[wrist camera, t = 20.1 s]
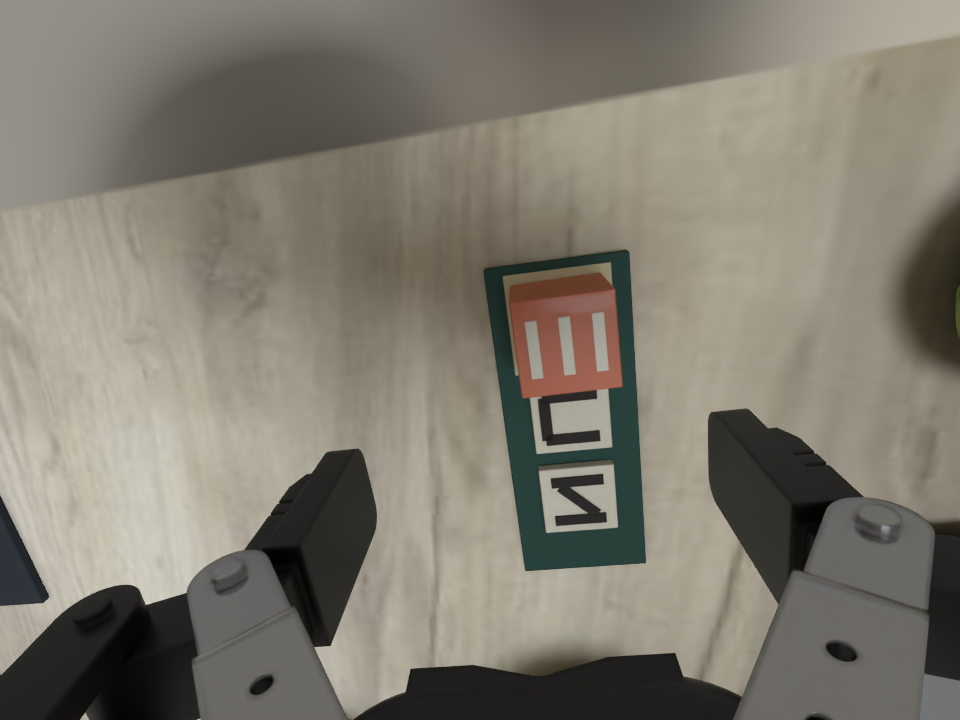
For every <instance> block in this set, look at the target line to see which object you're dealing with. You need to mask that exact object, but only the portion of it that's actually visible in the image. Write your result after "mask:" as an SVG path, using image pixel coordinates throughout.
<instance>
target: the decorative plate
mask: <svg viewBox="0 0 960 720" xmlns="http://www.w3.org/2000/svg"><path fill="white" fill-rule="evenodd" d="M920 720H960V681H958V680H953V679H948V678H943V677H938V676H933V675H927V674H924V681H923V691H922V702H921V713H920Z"/></svg>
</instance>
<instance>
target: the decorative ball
mask: <svg viewBox="0 0 960 720" xmlns="http://www.w3.org/2000/svg"><path fill="white" fill-rule="evenodd" d="M955 318H956V328H957V333H958V336H959V340H960V285H959V287H958V289H957V292H956V303H955Z"/></svg>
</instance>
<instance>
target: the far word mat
mask: <svg viewBox="0 0 960 720" xmlns="http://www.w3.org/2000/svg"><path fill="white" fill-rule="evenodd" d="M48 598H49V597H48V595H47V593H46V591H45V589H44V587H43V585H42V583H41V580H40V578H39V576H38V574H37V572H36V570H35V568H34V566H33V564H32V562H31V560H30V558H29V556H28V554H27V552H26V550H25V548H24V546H23V544H22V542H21V539H20V537H19V535H18V533H17V531H16V529H15V527H14V525H13V523H12V521H11V519H10V517H9V515H8V513H7V511H6V509H5V507H4V505H3V503H2V501H1V498H0V606H5V605H20V604H35V603H44V602H45V601H46V600H47V599H48Z"/></svg>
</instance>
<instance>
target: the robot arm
mask: <svg viewBox="0 0 960 720" xmlns="http://www.w3.org/2000/svg"><path fill="white" fill-rule="evenodd" d="M708 465H709V482H710V488H711V491H712V495H713V498H714V500H715V502H716V504H717V506H718V507H719V509H720V510H721V512H722V514H723V515H724V517H725V519H726V520H727V522H728V523H729V525H730V527H731V528H732V530H733V531H734V533H735V535H736V536H737V538H738V540H739V541H740V543H741V544H742V546H743V548H744V549H745V551H746V553H747V554H748V556H749V557H750V559H751V561H752V562H753V564H754V566H755V567H756V569H757V570H758V572H759V574H760V575H761V577H762V578H763V580H764V582H765V583H766V585H767V587H768V588H769V590H770V591H771V593H772V595H773V596H774V598H775V600H776V601H777V603H778V604H779V605H778V608H777V610H776V613H775V615H774V618H773V620H772V623H771V625H770V628H769V630H768V633H767V635H766V638H765V640H764V643H763V645H762V648H761V651H760V653H759V656H758V658H757V661H756V663H755V666H754V668H753V671H752V673H751V676H750V678H749V681H748V683H747V686H746V688H745V691H744V693H743V696H742V697H741V696H739V695H737V694H735V693H733V692H731V691H729V690H727V689H724V688H722V687H719V686H716V685H714V684H711V683H708V682H704V681H701V680H697V679H693V678H688V677H683V675H682V672H681V669H680V666H679V663H678V660H677V657H676V654H675V653H668V654H651V655H635V656H618V657H606V658H603V659H600V660H596V661H593V662H590V663H586V664H583V665H580V666H576V667H573V668H570V669H566V670H563V671H560V672H556V673H553V674H550V675H546V676H531V675H525V674H520V673H514V672H508V671H503V670H497V669H492V668H486V667H481V666H475V665H467V666H450V667H433V668H417V669H411V670H410V675H409V679H408V684H407V689H406V692H405V693H402V694H398V695H396V696H394V697H391V698H389V699H386V700H384V701H382V702H380V703H378V704H377V705H375V706H373V707H371V708H369V709H368V710H366V711H365V712H363V713H362V714H360V715H359V716H358V717H356V718H355V719H353V720H920V713H921V702H922V691H923V681H924V674H927V675H933V676H938V677H943V678H948V679H953V680H958V681H960V537H959V536H950V535H943V534H936V533H935V532H934V530H933V527H932V526H931V525H930V523H929V522H928V521H927V520H925V519H924V518H923V517H922V516H920V515H919V514H917V513H916V512H914V511H912V510H910V509H908V508H906V507H903V506H901V505H898V504H895V503H892V502H889V501H885V500H880V499H875V498H866V497H863V496H862V495H861V494H860V493H859V492H858V491H857V490H856V489H854V488H853V487H852V486H851V485H850V484H849V483H848V482H847V481H846V480H845V479H844V478H843V477H841V476H840V475H839V474H838V473H837V472H836V471H835V470H834V469H833V468H832V467H831V466H829V465H826V462H825V461H824V460H823V459H822V458H821V457H820V456H819V455H818V454H814V451H813V450H812V449H811V448H810V447H809V446H808V445H807V444H806V443H804V442H803V441H802V440H801V439H800V438H799V437H796V436H794V435H792V434H790V433H788V432H785V431H783V430H781V429H779V428H767V427H766V426H765V425H764V424H763V423H762V422H761V421H760V420H759V419H758V418H757V417H756V416H755V415H754V414H753V413H752V412H751V411H750V410H749V409H737V410H727V411H718V412H711V413H710V415H709V419H708ZM376 523H377V512H376V505H375V500H374V496H373V492H372V488H371V484H370V480H369V476H368V472H367V468H366V464H365V460H364V456H363V454H362V452H361V450H359V449H350V450H340V451H331V452H327V453H326V454H325V455H324V456H323V458H322V459H321V461H320V462H319V464H318V465H317V467H316V468H315V470H314V471H313V473H312V474H306V475H305V476H304V477H302V478H301V479H300V480H298V481H297V482H296V483H295V484H293V485H292V486H291V487H289V489H288V490H287V491H286V493H285V494H284V496H283V497H282V498H281V500H280V501H279V504H277V505H276V507H275V508H274V509H273V511H272V512H271V516H268V518H267V519H266V521H265V522H264V523H263V525H262V526H261V528H260V529H259V530H258V532H257V533H256V535H255V536H254V537H253V539H252V540H251V541H250V543H249V544H248V546H247V547H246V548H245V550H242V551H238V552H234V553H231V554H228V555H226V556H223V557H221V558H219V559H217V560H215V561H214V562H212V563H210V564H209V565H207V566H206V567H205V568H203V569H202V570H201V571H200V572H199V573H198V574H197V575H196V576H195V577H194V578H193V579H192V581H191V582H190V584H189V586H188V589H187V593H185V594H182V595H178V596H175V597H172V598H169V599H165V600H162V601H159V602H155V603H152V604H149V605H146V604H145V602H144V600H143V598H142V595H141V593H140V591H139V589H138V588H137V587H135V586H132V585H119V586H113V587H110V588H106V589H103V590H101V591H98V592H96V593H94V594H91V595H89V596H87V597H85V598H84V599H82V600H80V601H78V602H77V603H75V604H74V605H72V606H71V607H69V608H68V609H67V610H66V611H64V612H63V613H62V614H61V615H60V616H59V617H58V618H56V619H55V620H54V621H53V623H52V624H51V625H50V626H49V627H48V628H47V629H46V630H45V631H44V632H43V633H42V634H41V635H40V636H39V637H38V638H37V639H36V640H35V641H34V642H33V643H32V644H31V645H30V646H29V647H28V648H27V649H26V650H25V651H24V652H23V654H22V655H21V656H20V657H19V658H18V659H17V660H16V661H15V662H14V663H13V664H12V665H11V666H10V667H9V668H8V669H7V670H6V671H5V672H4V673H3V674H2V675H1V676H0V720H80V719H81V717H82V716H83V715H84V713H85V712H86V714H87V716H88V718H89V720H197V719H199V718H201V720H348V719H347V717H346V715H345V713H344V710H343V708H342V706H341V704H340V702H339V700H338V698H337V695H336V693H335V691H334V689H333V687H332V685H331V683H330V680H329V678H328V676H327V674H326V672H325V670H324V668H323V666H322V663H321V661H320V659H319V657H318V655H317V653H316V651H315V648H314V647H321V646H331V643H332V641H333V638H334V636H335V633H336V630H337V628H338V625H339V623H340V620H341V618H342V615H343V612H344V610H345V607H346V605H347V602H348V600H349V597H350V594H351V592H352V589H353V587H354V584H355V582H356V579H357V577H358V574H359V571H360V569H361V566H362V564H363V561H364V559H365V556H366V553H367V551H368V548H369V546H370V543H371V541H372V538H373V535H374V533H375V529H376Z"/></svg>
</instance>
